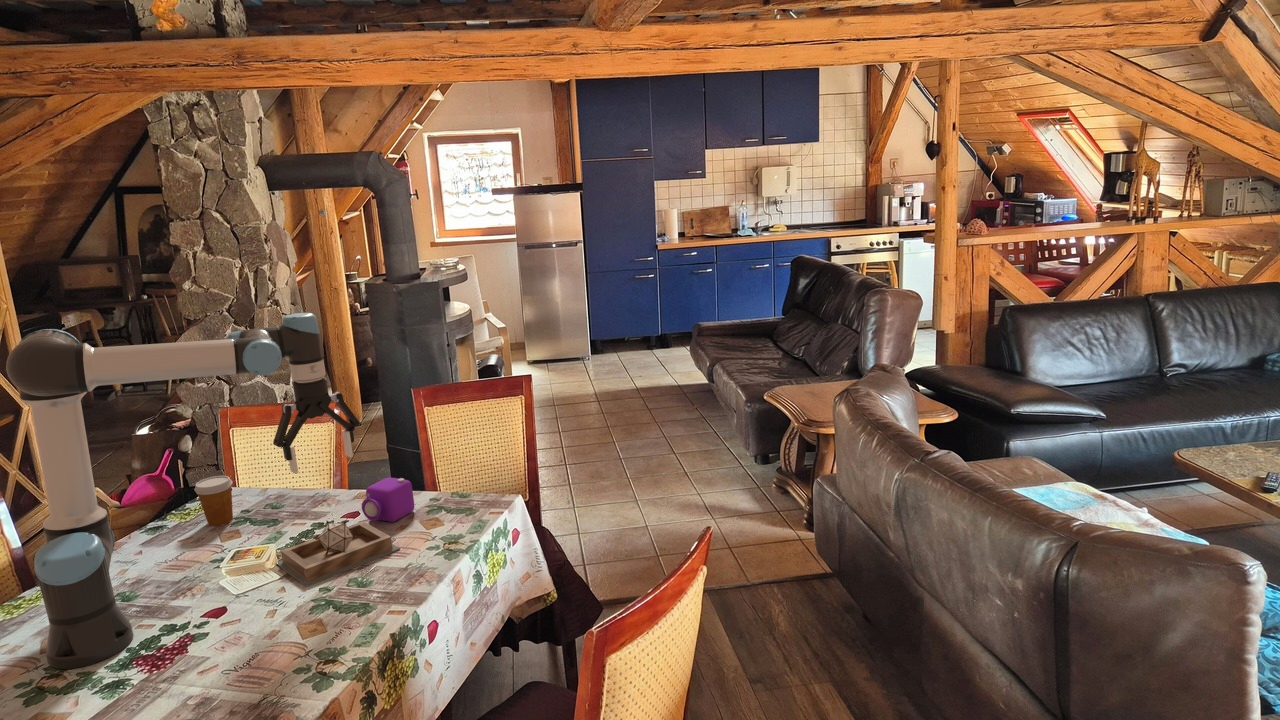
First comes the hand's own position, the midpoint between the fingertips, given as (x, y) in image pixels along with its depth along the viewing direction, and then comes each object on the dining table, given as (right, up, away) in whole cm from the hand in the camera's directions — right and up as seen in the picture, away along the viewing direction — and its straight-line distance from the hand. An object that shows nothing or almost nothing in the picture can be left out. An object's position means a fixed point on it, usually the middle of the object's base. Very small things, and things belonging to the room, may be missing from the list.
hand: (322, 464), depth 204 cm
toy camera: (+8, -18, +28) cm, 34 cm away
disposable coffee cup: (-41, -20, +33) cm, 56 cm away
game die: (+2, -23, +6) cm, 24 cm away
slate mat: (+2, -24, +6) cm, 24 cm away
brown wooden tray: (+2, -24, +6) cm, 24 cm away
